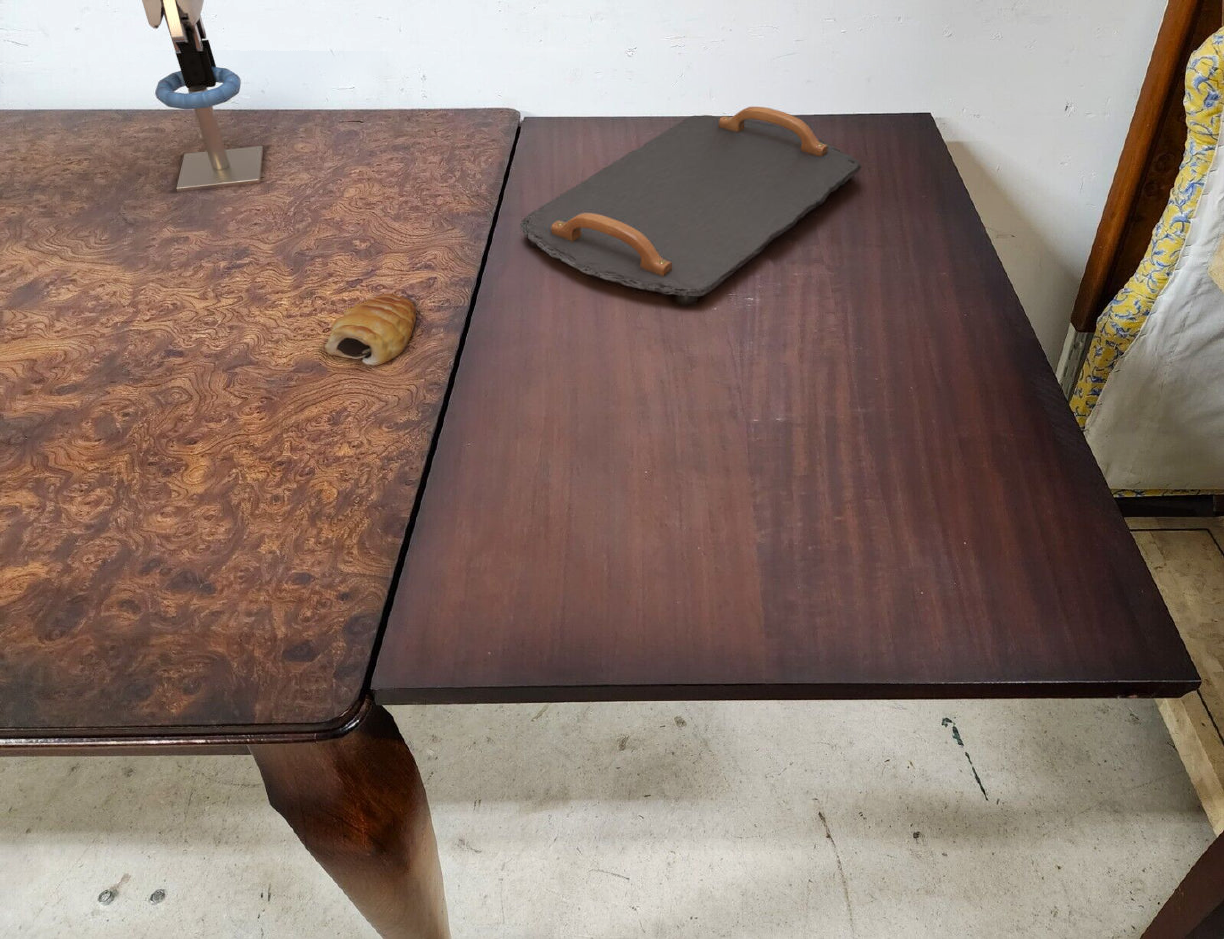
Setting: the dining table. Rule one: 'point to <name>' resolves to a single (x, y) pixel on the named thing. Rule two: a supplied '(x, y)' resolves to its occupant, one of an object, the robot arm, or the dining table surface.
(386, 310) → the pastry
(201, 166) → the peg on square base
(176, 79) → the ring
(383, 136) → the dining table surface
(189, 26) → the robot arm
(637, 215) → the serving tray
